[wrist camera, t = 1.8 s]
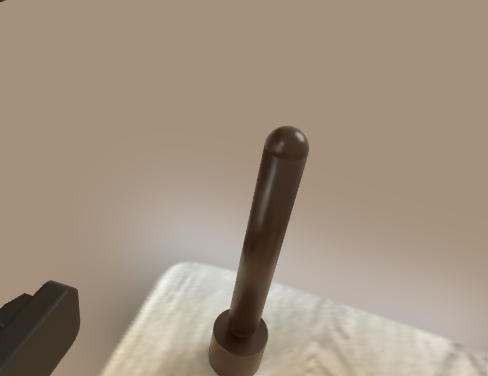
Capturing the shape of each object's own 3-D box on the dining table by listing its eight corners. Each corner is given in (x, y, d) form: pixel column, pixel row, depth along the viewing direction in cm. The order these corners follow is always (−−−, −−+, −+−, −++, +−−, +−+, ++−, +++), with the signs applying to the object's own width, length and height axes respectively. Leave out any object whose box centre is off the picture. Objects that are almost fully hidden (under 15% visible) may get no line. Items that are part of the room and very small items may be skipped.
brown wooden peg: (200, 342, 29) (236, 113, 19) (245, 326, 31) (302, 106, 20) (222, 389, 27) (277, 157, 16) (269, 369, 29) (348, 145, 18)
